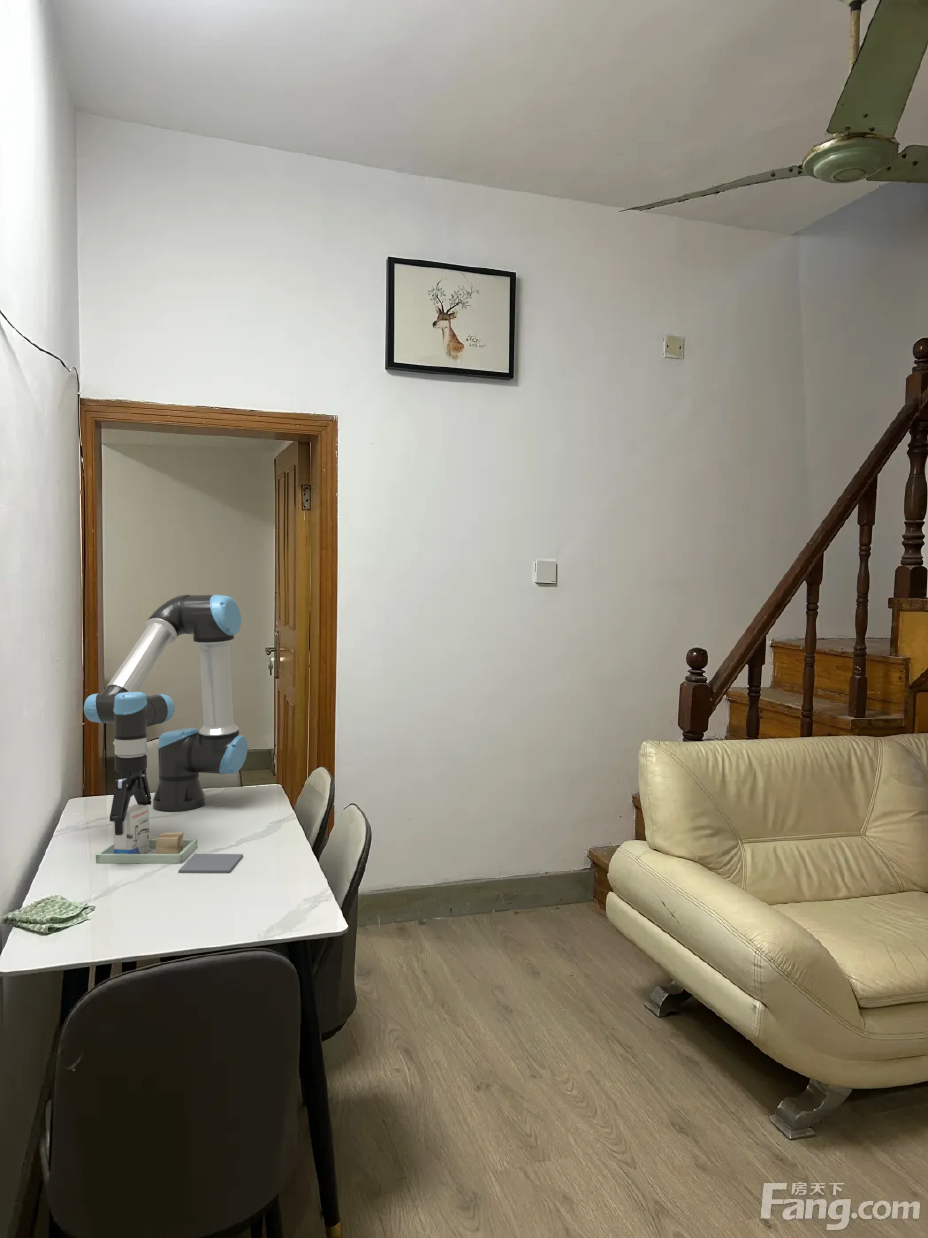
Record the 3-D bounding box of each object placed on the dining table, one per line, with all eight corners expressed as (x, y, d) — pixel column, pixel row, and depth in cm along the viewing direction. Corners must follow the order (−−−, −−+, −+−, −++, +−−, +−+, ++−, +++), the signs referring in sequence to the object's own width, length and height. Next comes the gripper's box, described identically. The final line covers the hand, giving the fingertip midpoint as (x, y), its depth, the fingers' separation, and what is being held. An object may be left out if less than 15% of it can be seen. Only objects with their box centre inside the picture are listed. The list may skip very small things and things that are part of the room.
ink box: (130, 861, 204) (130, 813, 204) (112, 859, 205) (112, 812, 205) (150, 850, 213) (150, 804, 212) (133, 849, 214) (132, 803, 213)
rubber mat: (194, 856, 208) (194, 854, 208) (242, 856, 208) (242, 854, 208) (178, 873, 196) (178, 870, 196) (229, 873, 196) (229, 870, 196)
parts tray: (117, 846, 215) (117, 839, 215) (197, 847, 215) (197, 839, 215) (95, 863, 203) (95, 855, 203) (180, 863, 203) (180, 855, 203)
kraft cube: (163, 852, 212) (163, 832, 211) (183, 852, 212) (183, 832, 211) (156, 858, 207) (156, 838, 206) (176, 858, 207) (176, 838, 206)
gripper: (135, 745, 220) (135, 824, 221) (93, 765, 196) (94, 854, 196) (163, 745, 221) (164, 825, 221) (125, 765, 196) (126, 855, 196)
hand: (131, 839), depth 209 cm, fingers open, 13 cm apart
